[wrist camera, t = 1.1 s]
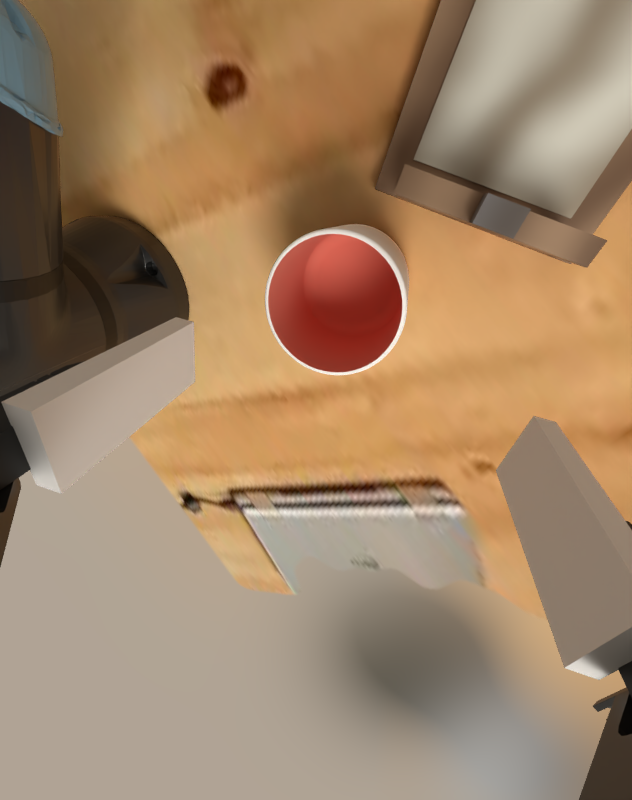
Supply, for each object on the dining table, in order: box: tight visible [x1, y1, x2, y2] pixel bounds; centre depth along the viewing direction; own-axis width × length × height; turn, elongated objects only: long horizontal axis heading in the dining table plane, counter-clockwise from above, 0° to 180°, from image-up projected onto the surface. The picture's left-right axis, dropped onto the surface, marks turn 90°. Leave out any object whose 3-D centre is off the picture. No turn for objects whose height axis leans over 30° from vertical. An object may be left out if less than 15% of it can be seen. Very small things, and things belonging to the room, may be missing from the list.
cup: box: [265, 224, 409, 375], centre depth 26 cm, size 10×10×10 cm
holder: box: [375, 0, 632, 268], centre depth 17 cm, size 16×17×10 cm
